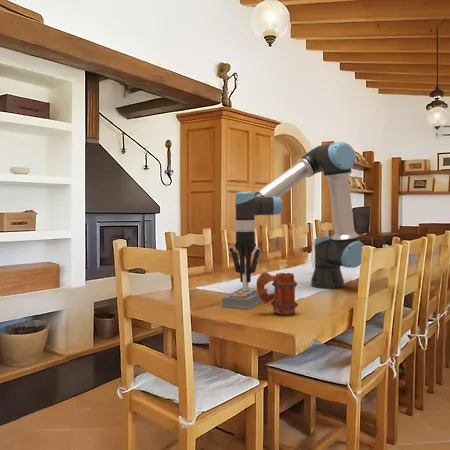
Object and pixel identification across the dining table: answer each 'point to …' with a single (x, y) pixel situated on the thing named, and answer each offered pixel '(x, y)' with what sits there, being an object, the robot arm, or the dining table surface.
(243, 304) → the key board
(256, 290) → the key
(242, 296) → the key
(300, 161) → the robot arm
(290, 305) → the mug
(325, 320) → the dining table surface
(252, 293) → the key
